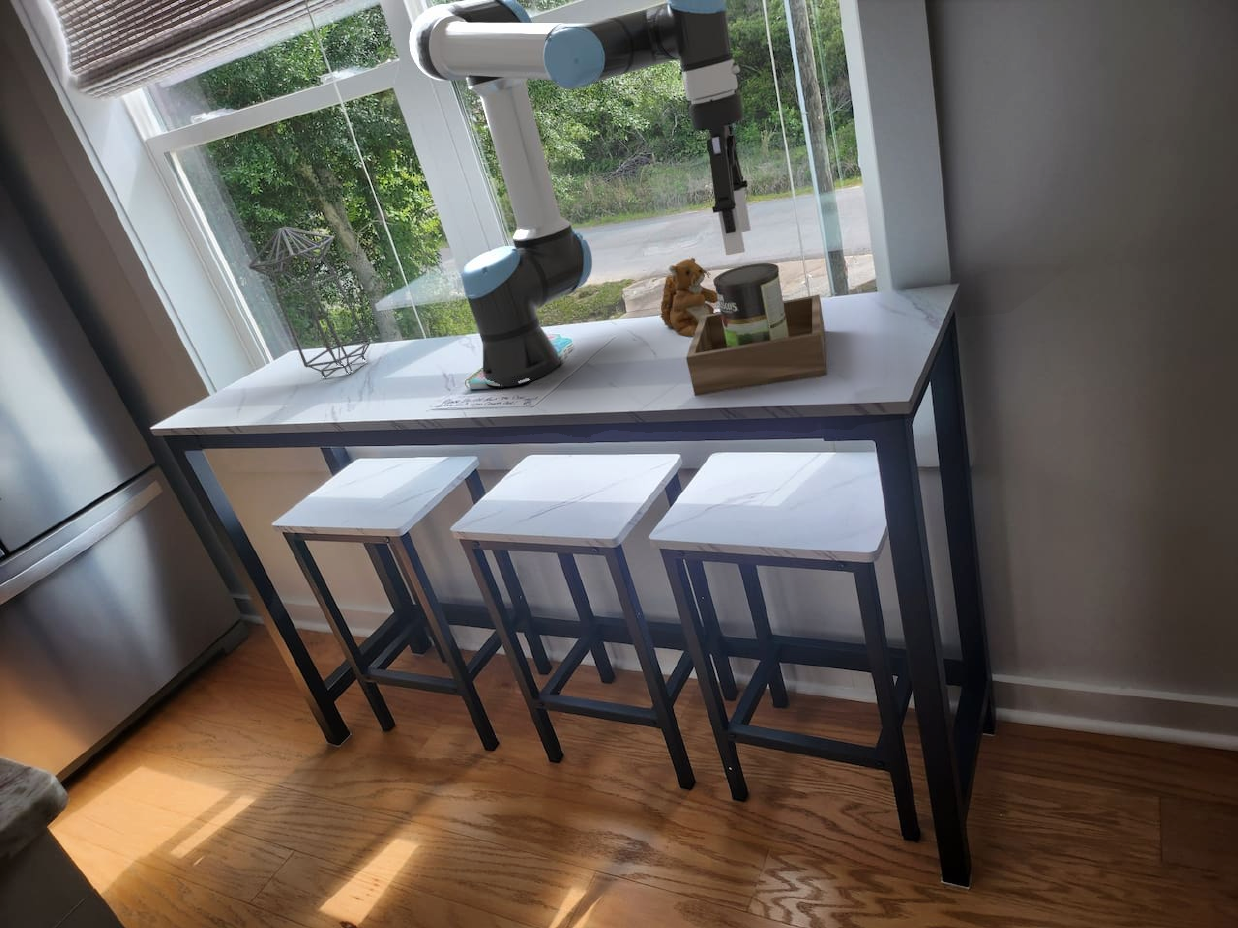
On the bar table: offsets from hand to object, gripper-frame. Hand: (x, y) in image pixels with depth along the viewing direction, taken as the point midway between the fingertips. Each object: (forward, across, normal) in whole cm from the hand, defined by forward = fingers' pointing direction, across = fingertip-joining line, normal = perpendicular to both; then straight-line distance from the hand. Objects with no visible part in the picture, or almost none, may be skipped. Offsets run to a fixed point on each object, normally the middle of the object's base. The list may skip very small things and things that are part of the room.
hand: (739, 242), depth 133 cm
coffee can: (+19, 0, 0) cm, 19 cm away
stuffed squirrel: (+21, +27, +15) cm, 37 cm away
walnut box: (+20, 0, 0) cm, 20 cm away
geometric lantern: (+22, +40, +103) cm, 112 cm away
